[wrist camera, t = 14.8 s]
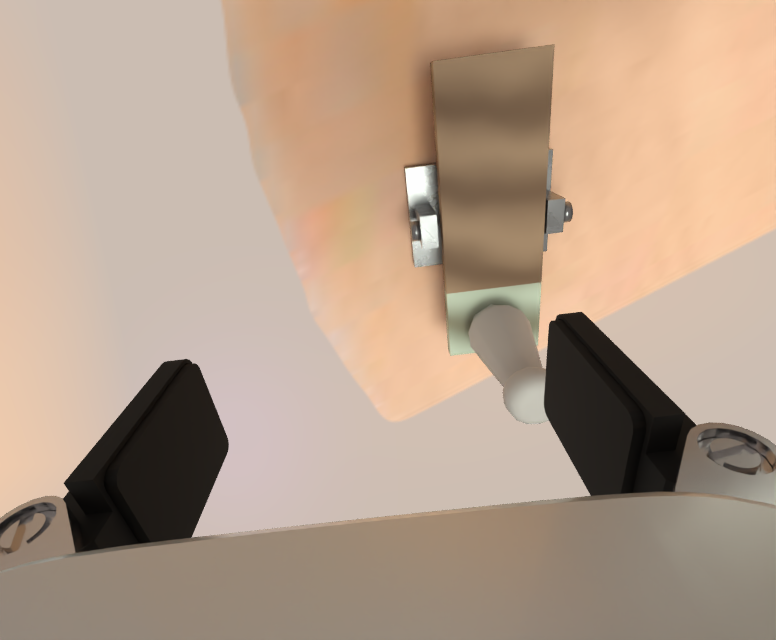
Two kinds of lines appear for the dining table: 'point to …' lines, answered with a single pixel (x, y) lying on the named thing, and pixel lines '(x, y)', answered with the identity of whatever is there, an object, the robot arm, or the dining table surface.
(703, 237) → the dining table surface
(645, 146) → the dining table surface
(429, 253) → the beam stand
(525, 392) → the salt shaker
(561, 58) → the dining table surface
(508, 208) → the balance beam
